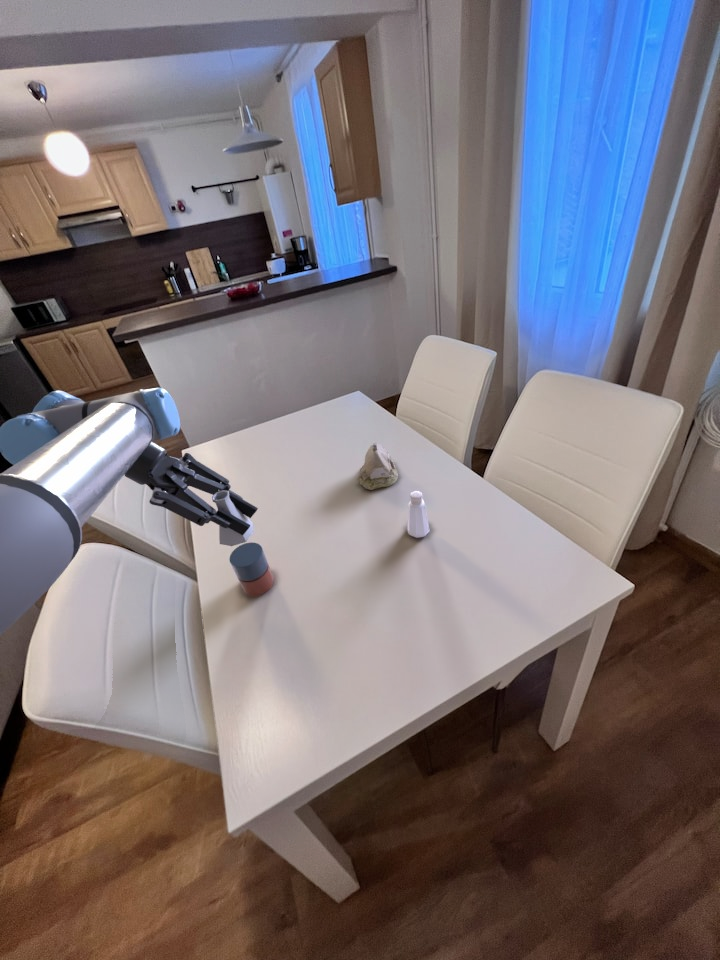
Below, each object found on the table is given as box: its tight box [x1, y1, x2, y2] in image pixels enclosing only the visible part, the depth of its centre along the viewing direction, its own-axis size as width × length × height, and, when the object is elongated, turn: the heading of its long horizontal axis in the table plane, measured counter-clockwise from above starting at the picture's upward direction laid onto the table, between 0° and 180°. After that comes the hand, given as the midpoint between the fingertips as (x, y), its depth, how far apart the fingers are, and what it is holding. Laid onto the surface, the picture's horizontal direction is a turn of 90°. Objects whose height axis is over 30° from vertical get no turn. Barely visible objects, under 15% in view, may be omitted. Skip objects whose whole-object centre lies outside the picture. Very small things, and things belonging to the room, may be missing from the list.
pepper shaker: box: [406, 490, 431, 539], centre depth 93 cm, size 5×5×11 cm
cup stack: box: [229, 542, 275, 597], centre depth 87 cm, size 7×7×9 cm
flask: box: [211, 490, 255, 547], centre depth 78 cm, size 7×7×10 cm
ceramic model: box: [358, 442, 399, 491], centre depth 114 cm, size 14×11×10 cm
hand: (250, 521), depth 78 cm, fingers closed on flask, 4 cm apart
